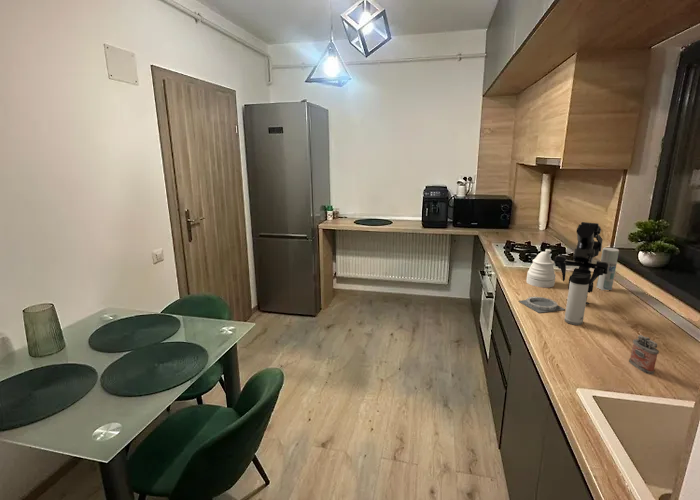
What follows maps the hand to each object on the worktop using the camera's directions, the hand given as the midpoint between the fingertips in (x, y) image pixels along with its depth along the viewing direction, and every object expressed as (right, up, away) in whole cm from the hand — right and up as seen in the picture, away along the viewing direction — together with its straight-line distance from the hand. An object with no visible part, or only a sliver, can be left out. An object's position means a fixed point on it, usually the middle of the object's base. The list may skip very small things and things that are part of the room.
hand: (576, 283), depth 153 cm
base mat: (-8, -11, +13) cm, 19 cm away
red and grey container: (0, -23, -34) cm, 42 cm away
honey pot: (+6, -4, +41) cm, 41 cm away
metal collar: (-8, -11, +13) cm, 19 cm away
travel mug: (-3, -15, -3) cm, 16 cm away
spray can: (+33, -6, +32) cm, 46 cm away
